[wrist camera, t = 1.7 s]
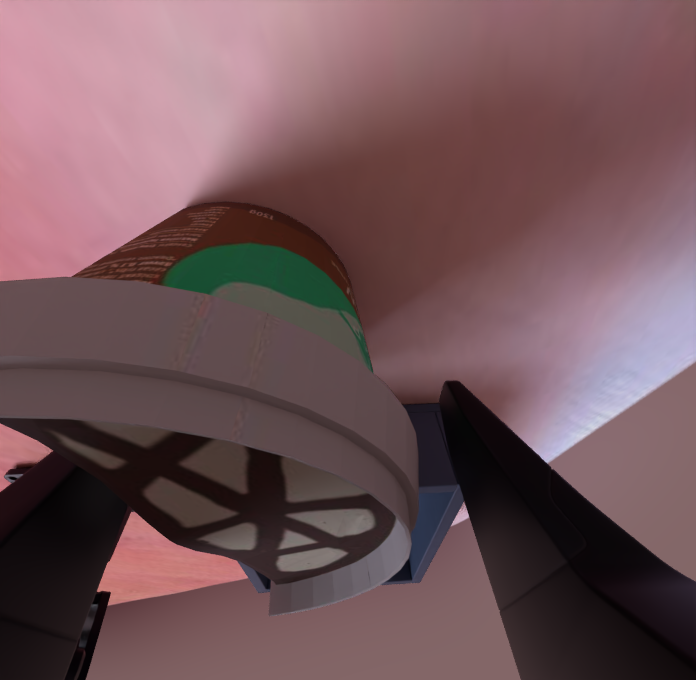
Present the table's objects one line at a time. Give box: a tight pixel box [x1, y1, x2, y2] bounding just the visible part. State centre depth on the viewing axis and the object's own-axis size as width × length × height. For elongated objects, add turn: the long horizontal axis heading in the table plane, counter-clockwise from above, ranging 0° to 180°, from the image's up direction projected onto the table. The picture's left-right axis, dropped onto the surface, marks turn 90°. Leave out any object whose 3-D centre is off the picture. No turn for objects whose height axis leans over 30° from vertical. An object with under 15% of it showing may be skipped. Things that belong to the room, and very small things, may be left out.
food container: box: [0, 202, 419, 616], centre depth 11 cm, size 12×6×10 cm, turn 16°
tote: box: [238, 403, 464, 593], centre depth 23 cm, size 14×18×5 cm
